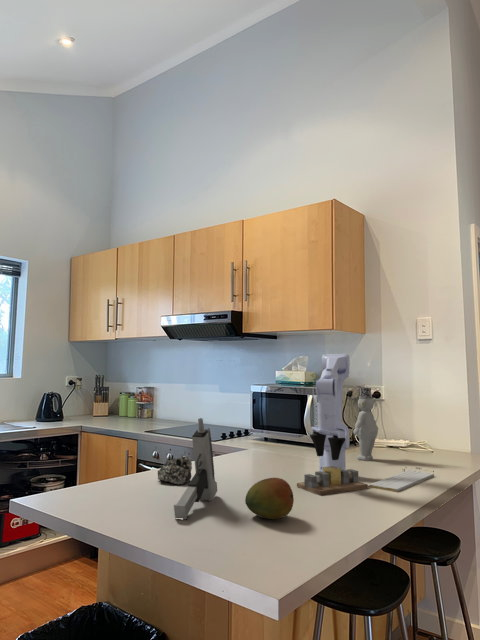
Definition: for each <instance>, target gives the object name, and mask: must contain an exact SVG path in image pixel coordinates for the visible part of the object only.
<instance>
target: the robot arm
mask: <svg viewBox="0 0 480 640" xmlns="http://www.w3.org/2000/svg"><path fill="white" fill-rule="evenodd" d="M350 361H351V360H350V354H348V353H323V354H322V356H321V367H322V372H321V375H320V378H319V379H316V381H315V382H316V383H315V392H316V401H317V417H318V419H317V421H318V423H317V424H318V426H311V427H310V428H311V429H310V433H312V434H310V435H309V437H310V439H311V441H312V443H313V445H314V448H315V452H316V456H317V457H319V459H318V460H319V461H318V463H319V464H318V465H319V466H318V467H319V470H318V471H321V472H323V467H328V466H334V467H338V468H341V469H342V470H347V469H346V467H347V466H346V450H348V449H349V447H350V429H349V428H348V425H346V424H345V423H343V421H342V418H343V415H342V414H343V413H342V412H343V389H344V388H343V387H344V383H345V380H346V379H348V378H349V375H350V365H351V362H350Z"/></svg>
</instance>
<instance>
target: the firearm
mask: <svg viewBox="0 0 480 640" xmlns="http://www.w3.org/2000/svg"><path fill="white" fill-rule="evenodd" d="M197 422H198V428H197V430H195V431H194V432H193V433H192V435H191V440H192V450H193V459H194V469H195V470H194V471H195V473H194V475H193V477H191V479H190V481H189V483H188V485H187V487H186V489H185V491H183V494H182V496H181V497H180V499H179V500H178V501H177V503H176V504H174V505H173V511H174V518H183V519H188V517H187V516H188V515H189V512H191V509H192V508H193V507H194V504H195V503H199V502H200V501H204V500H212V501H213V500H214V499H215V496H216V494H217V493H218V482H216V478H215V466H214V465H215V464H214V454H213V443H212V442H213V441H212V436H211V435H212V434H211V429H210V427H208V428H205V427H204V418H202V417H199V418H198V419H197Z"/></svg>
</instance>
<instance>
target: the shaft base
mask: <svg viewBox="0 0 480 640" xmlns="http://www.w3.org/2000/svg"><path fill="white" fill-rule="evenodd" d="M303 478H304V479H303V480H304V481H302V482H297V483H296V487H297V488H298V489H301V490H305V491H307V492H310V493H312V494H315V495H318V496H325V495H326V496H327V495H332V494H338V493H345V492H346V493H347V492H350V491H351V492H352V491H357V490H358V491H359V490H360V491H361V490H365V489H369V487H368V485H369V484H367V483H364V482H360V481H359V470H356V469H354V468H353V469H351V468H350V469H349V468H348V469H346V470H342V469H341V484H340V485H333V486H331V485H329V474H328V473H325V472H321V471H319V470H317V471H315V472H314V474H311V473H307V474H304V477H303Z"/></svg>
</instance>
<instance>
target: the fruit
mask: <svg viewBox="0 0 480 640" xmlns="http://www.w3.org/2000/svg"><path fill="white" fill-rule="evenodd" d="M245 505H246V507H247V509H248V510H250V512H251V513H253V514H255V515H256V516H258V517H260V518H263V519H267V520H278V519H283V518H284V517H287V515H289V514H290V512H291V511H292V510H293V506H294V492H293V490H292V487H291V485H290V484H289V483H288V482H287V480H285V479H283V478H280V477H269V478H264V479H262V480H261V479H260V480H259V481H257V482H256V483H254V484H253V485H252V486H251V487H250V488H249V489H248V490H247V492H246V495H245Z"/></svg>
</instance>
